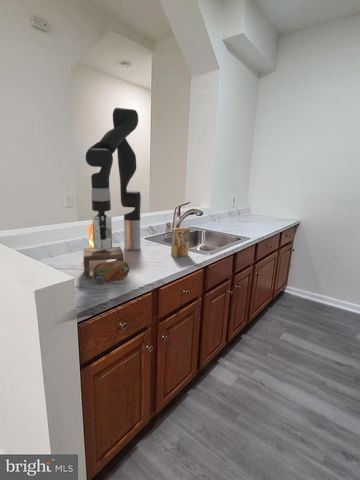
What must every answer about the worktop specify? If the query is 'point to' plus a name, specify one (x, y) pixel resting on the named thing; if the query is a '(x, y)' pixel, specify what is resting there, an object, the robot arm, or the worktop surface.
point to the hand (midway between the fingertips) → (102, 237)
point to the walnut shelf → (100, 257)
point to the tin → (110, 271)
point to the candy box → (180, 242)
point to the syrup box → (97, 241)
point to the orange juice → (91, 236)
